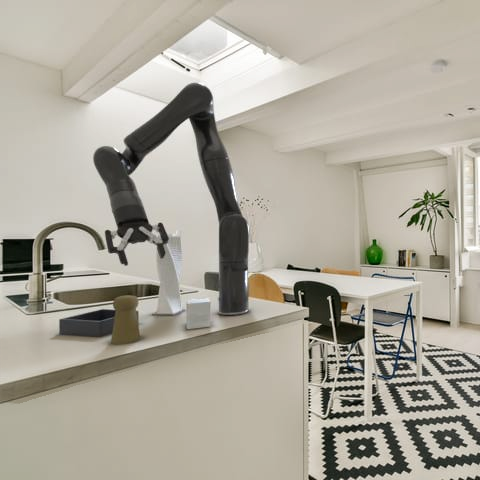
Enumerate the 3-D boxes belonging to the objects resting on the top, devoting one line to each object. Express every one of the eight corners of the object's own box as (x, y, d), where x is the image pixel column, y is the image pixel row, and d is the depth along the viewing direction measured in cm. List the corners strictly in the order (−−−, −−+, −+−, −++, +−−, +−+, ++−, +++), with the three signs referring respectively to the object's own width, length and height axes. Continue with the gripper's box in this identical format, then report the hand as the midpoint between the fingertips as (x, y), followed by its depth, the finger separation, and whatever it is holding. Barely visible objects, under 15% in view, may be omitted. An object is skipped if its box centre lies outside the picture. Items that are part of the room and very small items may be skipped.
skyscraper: (188, 310, 115) (188, 229, 114) (176, 316, 107) (176, 228, 106) (164, 310, 115) (164, 229, 114) (149, 315, 106) (149, 228, 106)
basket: (102, 322, 99) (102, 308, 99) (138, 324, 97) (138, 310, 97) (59, 334, 87) (59, 319, 87) (99, 336, 85) (99, 321, 85)
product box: (210, 327, 94) (210, 301, 94) (186, 329, 92) (186, 303, 91) (209, 322, 100) (209, 297, 100) (186, 324, 97) (186, 299, 97)
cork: (125, 345, 79) (125, 298, 79) (104, 343, 80) (104, 297, 80) (146, 337, 85) (146, 294, 84) (126, 335, 86) (126, 293, 86)
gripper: (97, 206, 87) (113, 261, 84) (158, 200, 97) (175, 249, 93) (98, 220, 93) (113, 272, 89) (155, 213, 102) (171, 260, 98)
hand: (144, 260), depth 91 cm, fingers open, 8 cm apart
